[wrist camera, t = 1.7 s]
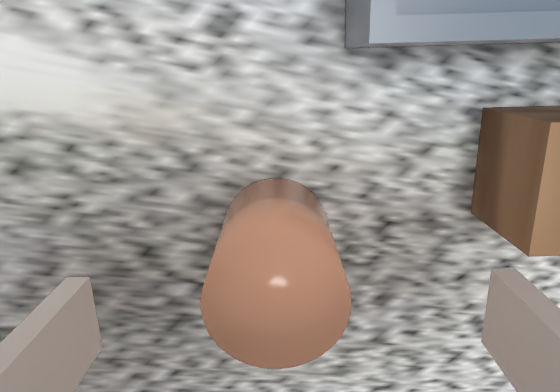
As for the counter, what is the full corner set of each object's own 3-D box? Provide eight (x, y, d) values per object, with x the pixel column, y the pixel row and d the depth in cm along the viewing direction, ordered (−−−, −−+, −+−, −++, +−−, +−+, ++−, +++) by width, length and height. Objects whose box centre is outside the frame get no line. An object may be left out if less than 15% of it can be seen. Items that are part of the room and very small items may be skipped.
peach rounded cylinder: (228, 274, 21) (206, 370, 15) (221, 179, 20) (193, 239, 13) (326, 271, 21) (349, 366, 15) (327, 176, 20) (353, 234, 13)
